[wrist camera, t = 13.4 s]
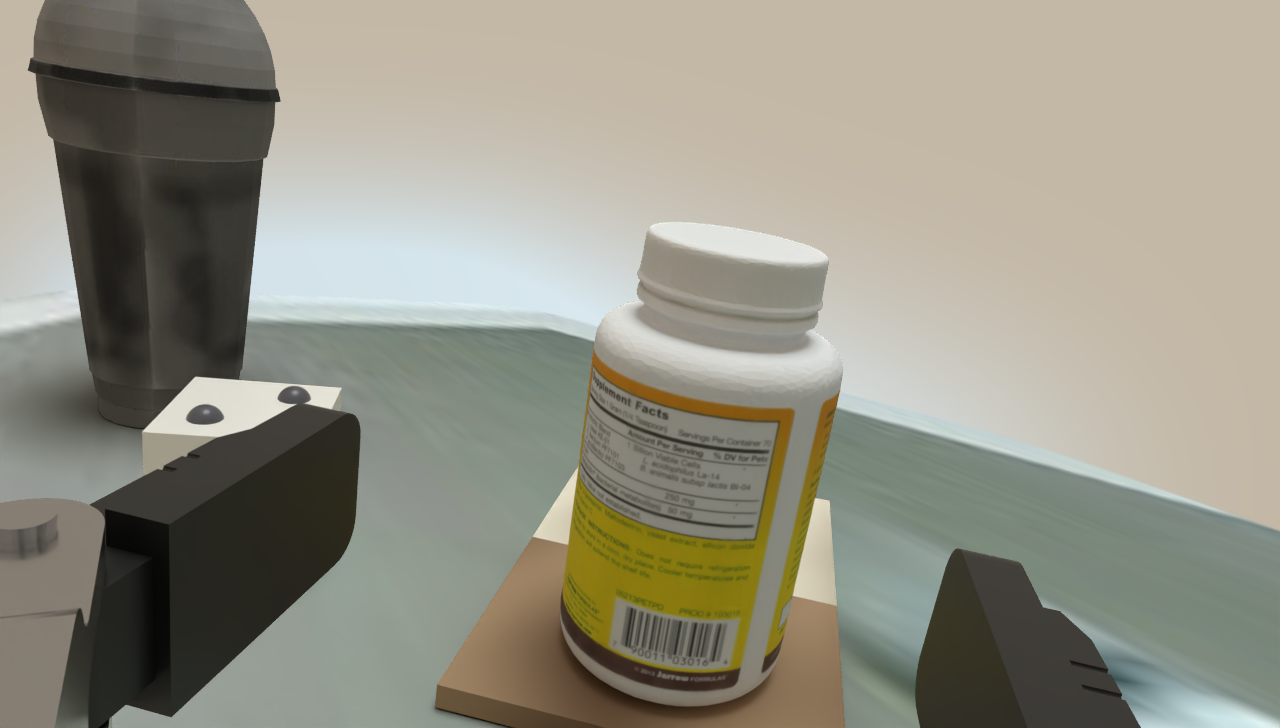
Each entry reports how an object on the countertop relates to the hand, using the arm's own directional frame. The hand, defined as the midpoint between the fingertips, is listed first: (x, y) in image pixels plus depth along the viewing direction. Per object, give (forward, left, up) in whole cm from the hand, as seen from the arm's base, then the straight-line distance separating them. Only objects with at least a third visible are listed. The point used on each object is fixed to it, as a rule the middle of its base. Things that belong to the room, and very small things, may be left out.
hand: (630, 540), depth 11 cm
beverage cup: (+20, -16, -8) cm, 27 cm away
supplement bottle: (0, -8, -7) cm, 11 cm away
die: (+12, -9, -8) cm, 17 cm away
